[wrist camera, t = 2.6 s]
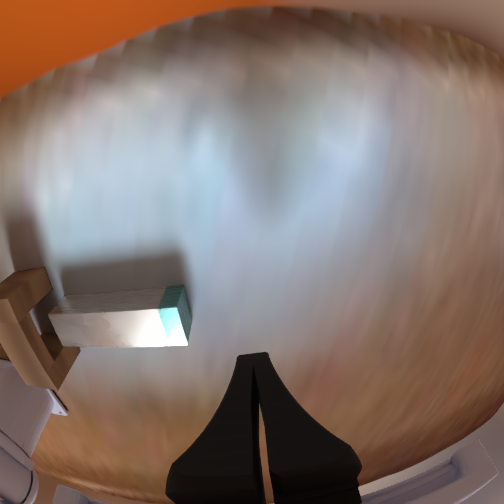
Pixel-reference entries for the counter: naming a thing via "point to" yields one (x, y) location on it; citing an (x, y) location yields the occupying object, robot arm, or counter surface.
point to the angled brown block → (31, 332)
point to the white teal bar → (124, 318)
